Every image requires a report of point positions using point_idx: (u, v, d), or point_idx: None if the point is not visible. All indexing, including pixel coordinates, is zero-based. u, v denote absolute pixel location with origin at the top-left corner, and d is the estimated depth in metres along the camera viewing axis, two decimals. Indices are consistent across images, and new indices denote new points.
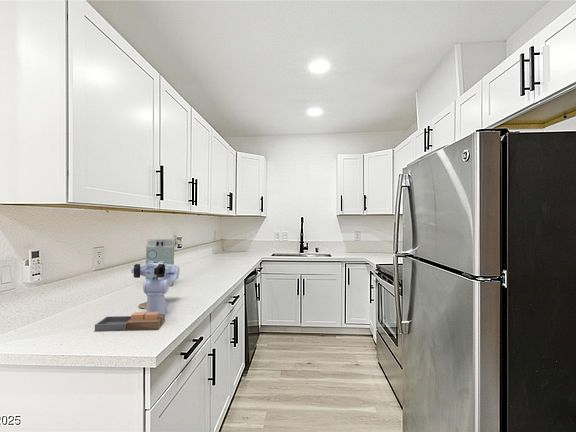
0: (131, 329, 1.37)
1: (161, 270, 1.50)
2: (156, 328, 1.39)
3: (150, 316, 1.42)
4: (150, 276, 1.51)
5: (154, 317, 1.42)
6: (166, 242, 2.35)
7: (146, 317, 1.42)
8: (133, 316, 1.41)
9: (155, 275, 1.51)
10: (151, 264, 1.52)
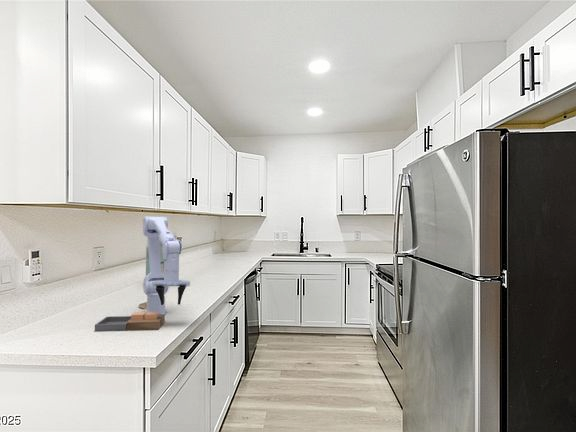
0: (131, 329, 1.37)
1: None
2: (156, 328, 1.39)
3: (150, 316, 1.42)
4: None
5: (154, 317, 1.42)
6: None
7: (146, 317, 1.42)
8: (133, 316, 1.41)
9: None
10: None
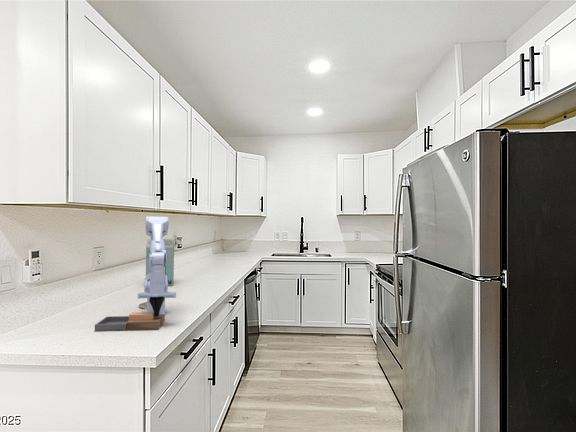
0: (131, 329, 1.37)
1: None
2: (156, 328, 1.39)
3: (146, 316, 1.42)
4: None
5: (151, 317, 1.42)
6: (166, 242, 2.35)
7: (142, 317, 1.42)
8: (131, 316, 1.41)
9: None
10: None
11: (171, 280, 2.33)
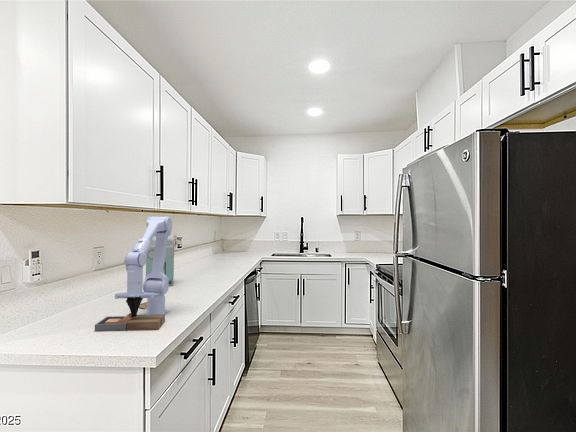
0: (131, 329, 1.37)
1: None
2: (156, 328, 1.39)
3: (123, 320, 1.41)
4: None
5: (127, 318, 1.41)
6: None
7: (120, 323, 1.40)
8: None
9: None
10: (133, 296, 1.41)
11: (171, 280, 2.33)
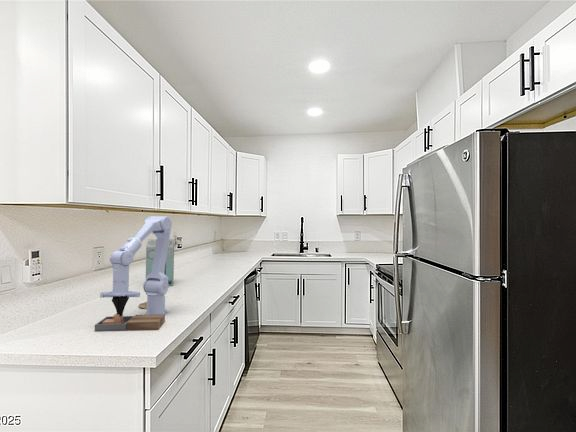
0: (131, 329, 1.37)
1: None
2: (156, 328, 1.39)
3: (116, 321, 1.40)
4: None
5: (116, 316, 1.40)
6: None
7: None
8: None
9: None
10: None
11: (171, 280, 2.33)
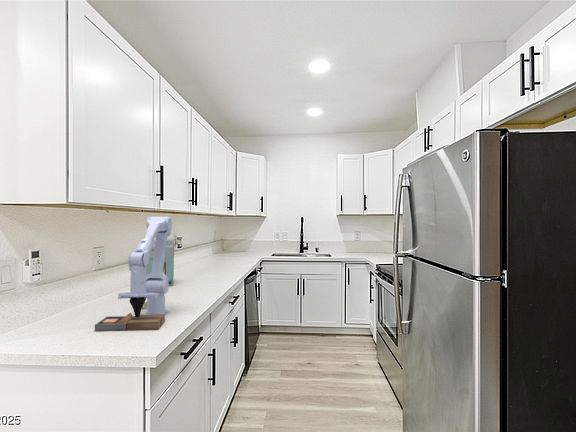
0: (131, 329, 1.37)
1: None
2: (156, 328, 1.39)
3: (123, 320, 1.41)
4: None
5: (127, 318, 1.41)
6: (166, 242, 2.35)
7: (120, 323, 1.40)
8: None
9: None
10: (137, 296, 1.41)
11: (171, 280, 2.33)
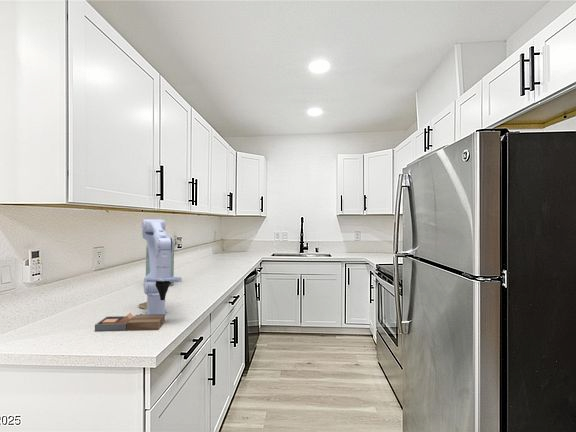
0: (131, 329, 1.37)
1: None
2: (156, 328, 1.39)
3: (123, 320, 1.41)
4: None
5: (127, 318, 1.41)
6: None
7: (120, 323, 1.40)
8: None
9: None
10: (162, 280, 1.46)
11: None
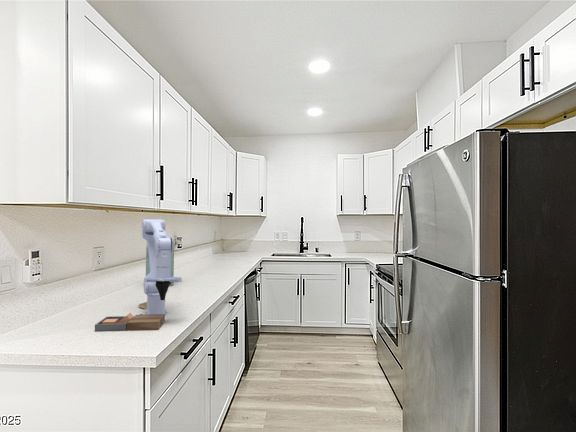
0: (131, 329, 1.37)
1: None
2: (156, 328, 1.39)
3: (123, 320, 1.41)
4: None
5: (127, 318, 1.41)
6: None
7: (120, 323, 1.40)
8: None
9: None
10: (162, 280, 1.46)
11: None
